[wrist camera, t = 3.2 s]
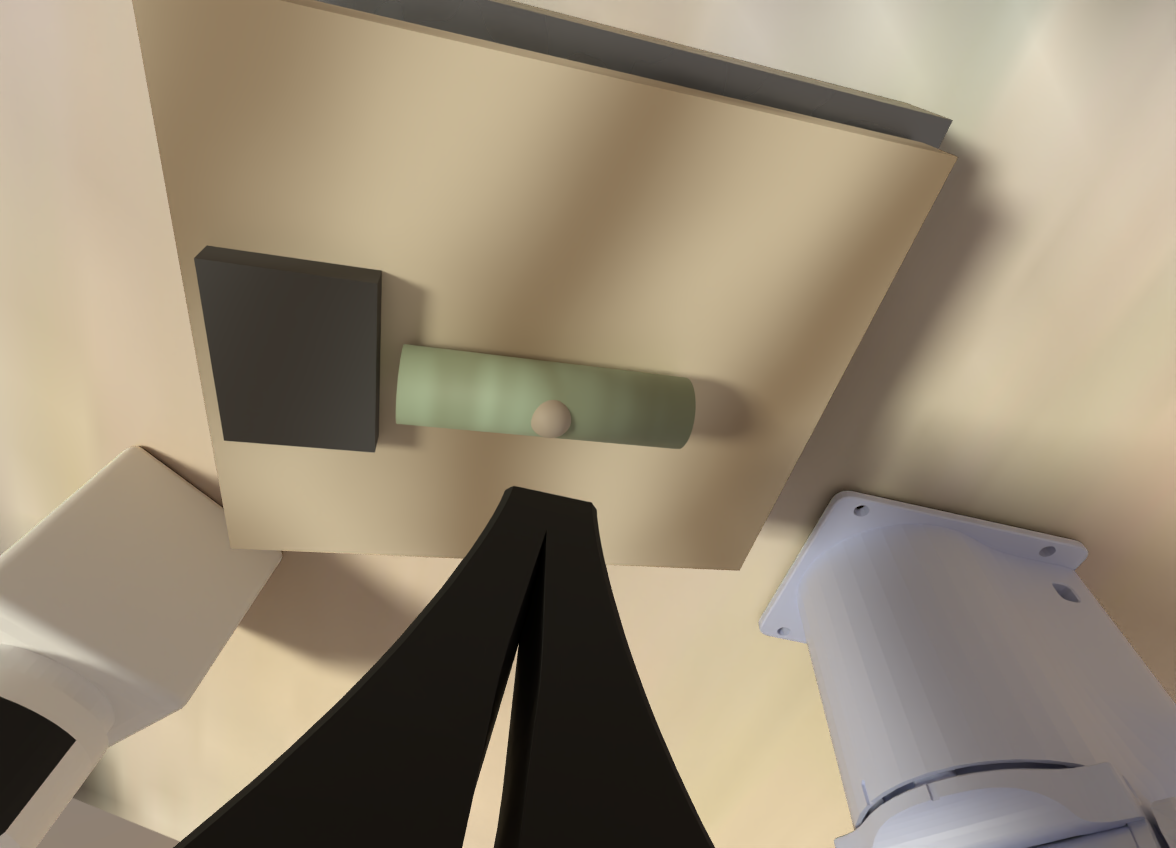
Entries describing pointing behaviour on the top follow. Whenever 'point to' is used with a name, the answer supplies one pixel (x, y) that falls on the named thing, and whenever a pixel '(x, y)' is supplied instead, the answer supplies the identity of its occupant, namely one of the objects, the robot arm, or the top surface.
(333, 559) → the top surface
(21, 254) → the top surface
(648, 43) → the instrument base
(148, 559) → the medicine bottle
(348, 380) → the leveling plate
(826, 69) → the top surface
